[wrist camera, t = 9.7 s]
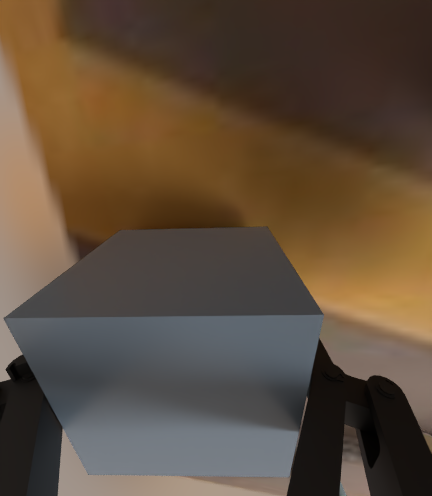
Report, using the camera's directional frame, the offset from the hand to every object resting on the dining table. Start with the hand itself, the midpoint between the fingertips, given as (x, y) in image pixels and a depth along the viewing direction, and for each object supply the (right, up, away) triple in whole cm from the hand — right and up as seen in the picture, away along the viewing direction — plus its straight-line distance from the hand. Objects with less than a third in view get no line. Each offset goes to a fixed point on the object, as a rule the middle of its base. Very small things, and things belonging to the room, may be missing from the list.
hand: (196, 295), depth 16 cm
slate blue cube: (0, 0, +1) cm, 1 cm away
